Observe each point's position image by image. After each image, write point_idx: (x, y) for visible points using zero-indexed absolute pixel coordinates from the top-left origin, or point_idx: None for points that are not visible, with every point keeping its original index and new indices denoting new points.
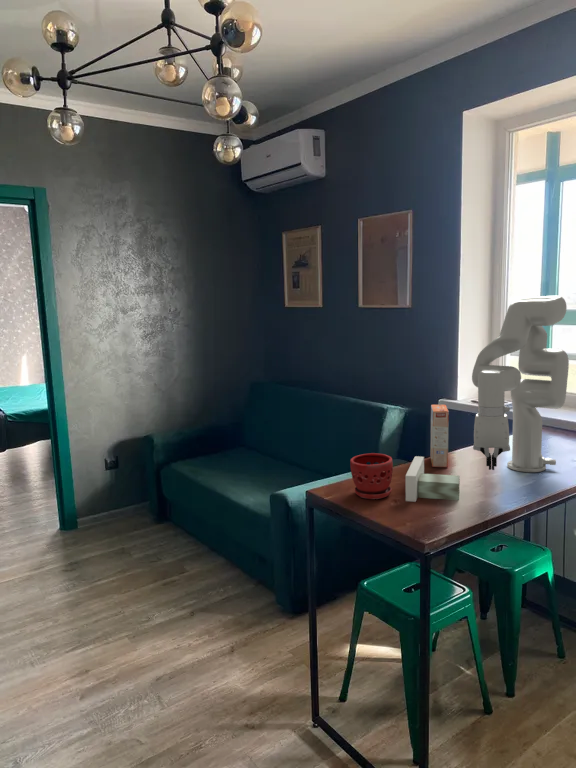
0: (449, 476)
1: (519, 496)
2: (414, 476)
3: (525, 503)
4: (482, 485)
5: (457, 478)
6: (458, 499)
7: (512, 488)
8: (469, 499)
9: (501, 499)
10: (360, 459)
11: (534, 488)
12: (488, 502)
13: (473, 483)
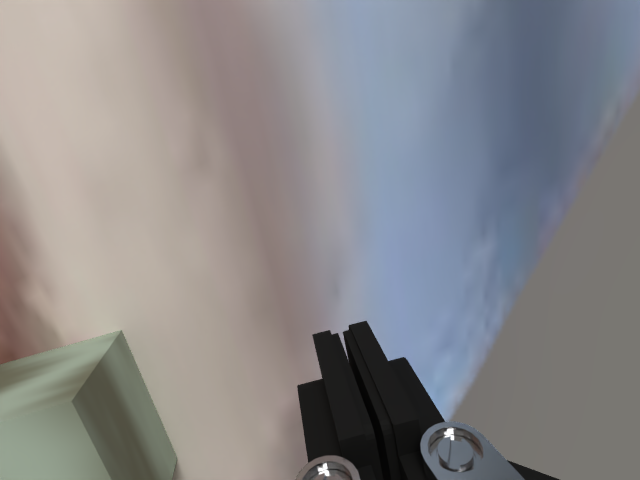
0: (1, 460)
1: (461, 247)
2: None
3: (493, 336)
4: (216, 133)
5: (89, 471)
6: (174, 461)
7: (411, 113)
8: (225, 419)
9: (379, 338)
10: None
11: (536, 51)
12: None
13: (140, 113)
